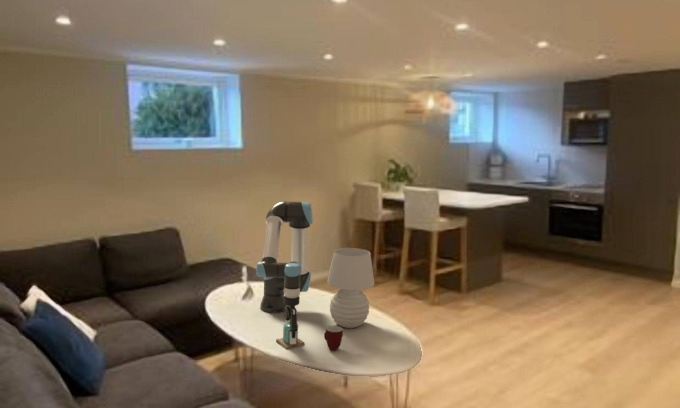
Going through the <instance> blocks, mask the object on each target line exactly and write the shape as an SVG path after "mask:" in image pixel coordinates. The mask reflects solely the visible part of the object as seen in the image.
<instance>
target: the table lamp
mask: <svg viewBox="0 0 680 408" xmlns="http://www.w3.org/2000/svg"><path fill="white" fill-rule="evenodd" d="M373 271H374V270H373V263H372V255H371V252H370V251H369V250H367V249H363V248H356V247H355V248H354V247H342V248H340V247H339V248H337V249H334V251H333V255H332V258H331V263H330V267H329V272H328V276H327V281H326V283H327V284H328V285H329V286H330V287H333V288H336V289H338V290H337V291H336V292H335V293H334V294H333V296H332V297H331V299H330V303H329V312H330V316H331V318H332V319H333V321H334V322H335V323H336V324H337V326H339V327H341V328H346V329H353V328H358V327H359V326H361V325H362V324H363V323H365V321H366V320H367V318H368V316H369V312H370V301H369V299H368V297H367V295H366V294H365V293H364V292H363V291H364V290H367V289H368V290H369V289H371V288H373V287H374V286H375V279H374V277H375V276H374V272H373ZM362 290H363V291H362Z"/></svg>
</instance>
